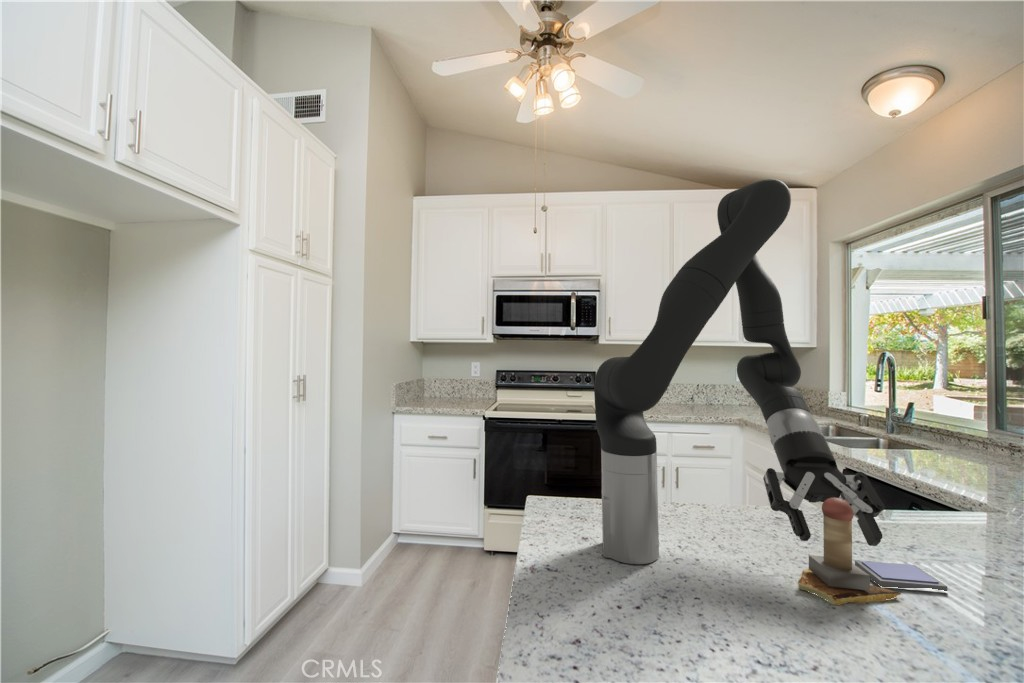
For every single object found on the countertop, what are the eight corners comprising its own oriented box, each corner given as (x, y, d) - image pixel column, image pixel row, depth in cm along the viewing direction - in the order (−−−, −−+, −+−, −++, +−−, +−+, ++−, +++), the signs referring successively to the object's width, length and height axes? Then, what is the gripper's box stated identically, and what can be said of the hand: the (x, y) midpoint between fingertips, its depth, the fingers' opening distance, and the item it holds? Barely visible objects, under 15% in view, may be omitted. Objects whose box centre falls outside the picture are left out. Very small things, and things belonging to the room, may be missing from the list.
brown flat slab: (901, 603, 56) (901, 590, 56) (903, 631, 50) (903, 616, 51) (804, 576, 63) (804, 564, 63) (796, 598, 58) (796, 584, 58)
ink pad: (880, 587, 59) (880, 579, 59) (855, 566, 65) (854, 559, 65) (947, 593, 57) (947, 584, 57) (915, 571, 63) (914, 563, 63)
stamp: (828, 586, 57) (828, 502, 57) (808, 568, 62) (808, 491, 62) (869, 590, 56) (868, 505, 57) (846, 572, 61) (845, 494, 62)
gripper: (757, 428, 69) (792, 526, 57) (855, 430, 66) (913, 533, 54) (747, 453, 74) (776, 548, 62) (837, 456, 71) (887, 556, 59)
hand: (840, 541), depth 58 cm, fingers open, 8 cm apart
